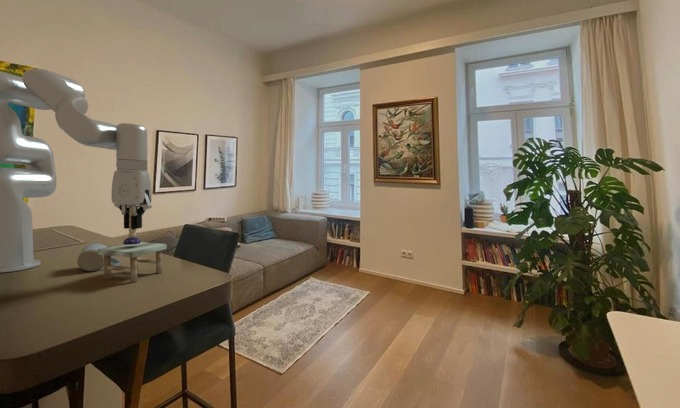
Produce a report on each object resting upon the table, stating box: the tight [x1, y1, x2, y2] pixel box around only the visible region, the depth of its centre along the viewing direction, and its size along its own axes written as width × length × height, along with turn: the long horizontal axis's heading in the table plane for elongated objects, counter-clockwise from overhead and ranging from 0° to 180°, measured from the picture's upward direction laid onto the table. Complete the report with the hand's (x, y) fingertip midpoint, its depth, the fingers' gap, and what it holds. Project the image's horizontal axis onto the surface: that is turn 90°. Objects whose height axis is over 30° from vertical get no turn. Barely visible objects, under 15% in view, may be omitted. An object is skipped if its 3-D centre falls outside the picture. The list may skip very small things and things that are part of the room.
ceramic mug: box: [76, 242, 122, 272], centre depth 96 cm, size 11×8×8 cm
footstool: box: [98, 241, 168, 284], centre depth 89 cm, size 12×12×9 cm
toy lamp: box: [122, 205, 142, 245], centre depth 88 cm, size 5×5×17 cm
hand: (133, 227), depth 88 cm, fingers closed on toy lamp
